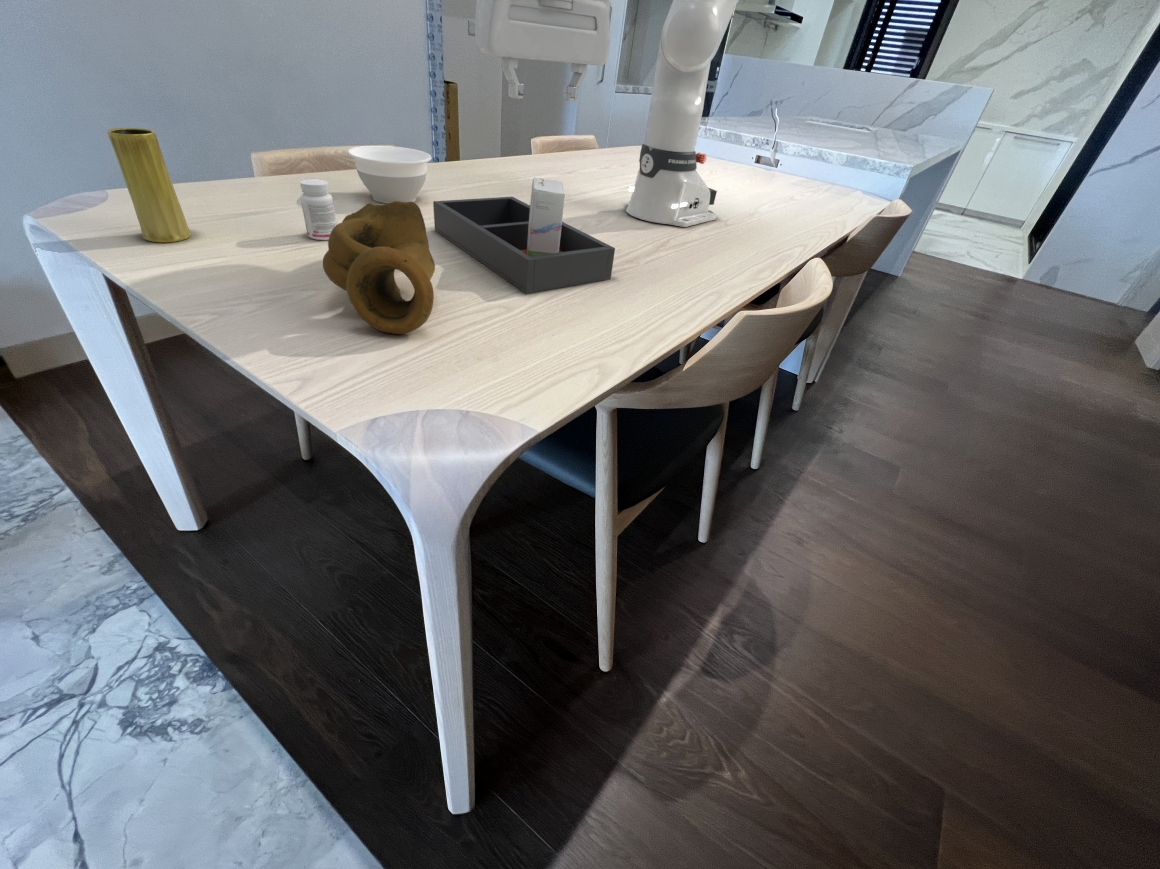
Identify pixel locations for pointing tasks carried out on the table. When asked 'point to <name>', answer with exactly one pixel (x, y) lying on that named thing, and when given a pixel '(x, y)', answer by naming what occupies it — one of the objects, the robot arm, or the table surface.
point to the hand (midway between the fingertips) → (543, 99)
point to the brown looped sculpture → (383, 264)
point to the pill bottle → (317, 208)
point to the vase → (149, 184)
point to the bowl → (391, 171)
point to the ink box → (545, 217)
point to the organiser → (521, 244)
